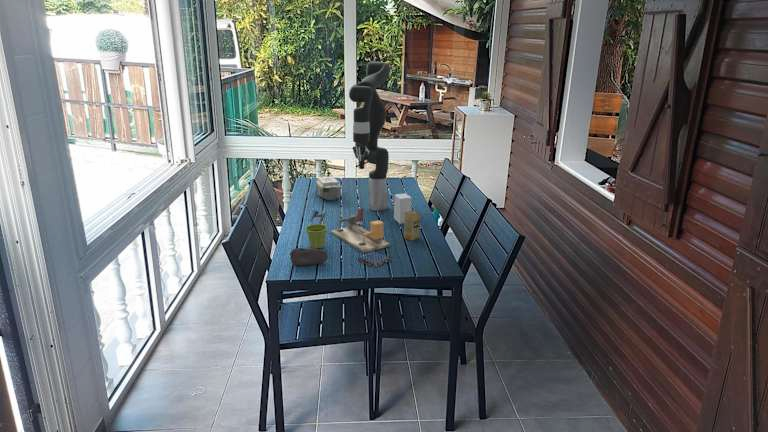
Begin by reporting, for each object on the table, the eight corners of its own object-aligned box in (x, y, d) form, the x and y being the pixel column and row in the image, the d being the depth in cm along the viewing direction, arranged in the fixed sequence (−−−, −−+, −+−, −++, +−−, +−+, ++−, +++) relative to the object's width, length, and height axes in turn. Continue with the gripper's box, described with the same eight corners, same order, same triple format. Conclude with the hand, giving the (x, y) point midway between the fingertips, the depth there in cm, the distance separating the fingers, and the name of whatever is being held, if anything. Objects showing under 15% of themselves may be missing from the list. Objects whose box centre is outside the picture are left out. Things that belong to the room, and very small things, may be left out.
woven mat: (356, 261, 210) (356, 256, 209) (374, 254, 217) (374, 249, 216) (373, 269, 203) (374, 264, 202) (392, 261, 210) (392, 257, 210)
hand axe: (345, 209, 272) (364, 207, 272) (346, 212, 273) (364, 210, 273) (341, 225, 247) (362, 224, 246) (342, 229, 247) (362, 227, 247)
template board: (357, 227, 246) (357, 213, 244) (390, 246, 224) (390, 231, 222) (331, 232, 239) (331, 218, 237) (362, 252, 217) (362, 237, 215)
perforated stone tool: (327, 260, 210) (327, 244, 207) (328, 265, 205) (328, 249, 202) (290, 262, 207) (289, 246, 205) (290, 268, 202) (289, 252, 200)
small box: (411, 222, 253) (412, 197, 249) (399, 224, 251) (400, 198, 247) (405, 217, 260) (405, 193, 256) (393, 218, 258) (394, 194, 254)
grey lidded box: (322, 203, 280) (321, 185, 278) (314, 192, 307) (313, 175, 304) (343, 201, 283) (343, 183, 281) (333, 190, 310) (333, 174, 307)
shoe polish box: (419, 237, 234) (420, 213, 230) (411, 240, 231) (412, 215, 227) (411, 235, 237) (411, 210, 233) (403, 237, 234) (404, 212, 230)
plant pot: (318, 252, 217) (318, 233, 215) (301, 247, 222) (300, 228, 219) (332, 245, 225) (331, 226, 222) (315, 240, 230) (314, 222, 227)
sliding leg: (378, 237, 228) (378, 220, 225) (383, 239, 225) (383, 222, 222) (360, 241, 223) (360, 223, 220) (365, 244, 220) (365, 226, 217)
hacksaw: (314, 212, 268) (314, 210, 267) (334, 213, 267) (333, 210, 267) (305, 229, 245) (305, 226, 244) (327, 229, 244) (327, 226, 244)
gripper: (376, 132, 228) (376, 170, 234) (360, 128, 239) (361, 164, 244) (361, 134, 224) (362, 172, 230) (346, 129, 235) (347, 166, 240)
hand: (361, 168), depth 237 cm, fingers closed
